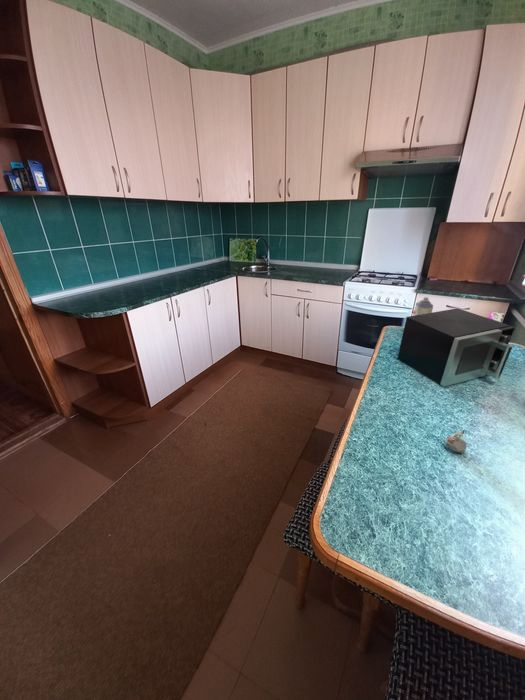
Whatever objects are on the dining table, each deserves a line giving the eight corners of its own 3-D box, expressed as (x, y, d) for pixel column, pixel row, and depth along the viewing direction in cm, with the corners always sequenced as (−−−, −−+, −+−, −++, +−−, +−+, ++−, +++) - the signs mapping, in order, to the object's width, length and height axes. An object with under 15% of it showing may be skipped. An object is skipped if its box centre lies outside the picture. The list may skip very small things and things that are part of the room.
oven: (499, 373, 106) (517, 328, 98) (445, 388, 98) (460, 340, 90) (445, 348, 125) (457, 308, 117) (397, 358, 117) (406, 316, 109)
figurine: (467, 457, 72) (474, 439, 69) (447, 454, 73) (454, 436, 70) (458, 441, 76) (465, 424, 74) (440, 439, 77) (446, 422, 74)
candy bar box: (477, 347, 125) (490, 311, 118) (491, 350, 122) (505, 313, 115) (472, 356, 118) (485, 318, 110) (487, 360, 115) (501, 321, 107)
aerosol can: (410, 335, 137) (420, 294, 128) (426, 339, 133) (437, 297, 123) (405, 340, 132) (415, 297, 123) (421, 344, 128) (432, 301, 119)
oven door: (502, 384, 99) (522, 337, 91) (459, 396, 94) (477, 347, 86) (480, 373, 106) (497, 328, 98) (440, 384, 100) (454, 337, 92)
